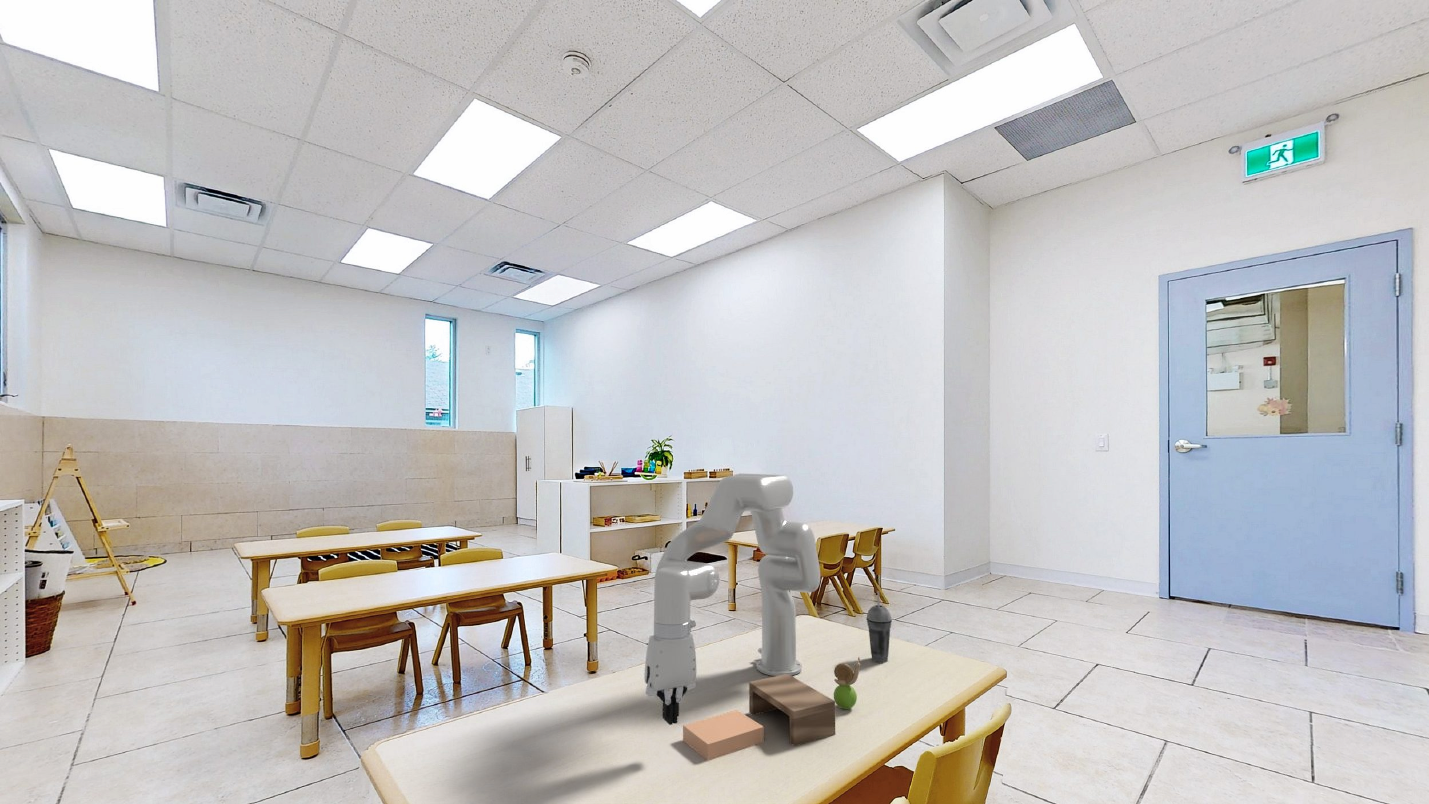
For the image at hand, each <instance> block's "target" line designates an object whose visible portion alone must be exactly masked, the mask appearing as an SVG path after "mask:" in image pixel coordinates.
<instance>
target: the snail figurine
mask: <svg viewBox="0 0 1429 804" xmlns="http://www.w3.org/2000/svg"><path fill="white" fill-rule="evenodd" d="M857 660H858V661H856V662H855V663H854V664H853V665H854V669H853V668H852V667H851V665H850V664H847V663H845V662H844V663H843V662H841V663H838V664H837V665H836V666H835V667H834V668H833V669H834V670H833V673H834V677H836V679H835V678H834V682H835V683H836V684H837V686H836V687H835V689H834V690H833V700H834V701H835V705H836V706H837V707H839V708H841V709H843V710H849V709H851V708H853V707H854V706H855V705H856V703H857V700H858V695H857V692H856V690H855V688H854V687H853V686H851V685H854V684H855V683H856V682H857V679H858V677H859V672H860V668H861V663H860V661H861V657H860V656H858V657H857ZM853 670H854V671H853Z"/></svg>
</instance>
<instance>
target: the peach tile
mask: <svg viewBox="0 0 1429 804" xmlns="http://www.w3.org/2000/svg"><path fill="white" fill-rule="evenodd" d="M764 730H765V729H764V726H763V725H762V724H760V723H758V722H756V721H755V720H754V719H752V718H751V717H749V716H747V715H745V714H744V713H742V712H741V711H739V710H738V709H735V710H732V711H729V712H728V711H727V712H724V713H721V714H718V715H713V716H711V717H707V718H704V719H700V720H696V721H694V722H690V723H687V724H686V723H685V724H683V725H682V740H683V741H684V743H686V744H687V745H688V746H689V747H691V748H692V749H693V750H694V751H696V752H697V753H698V754H699V755H701V756H702V757H703V758H704V759H706V760H707V761H711V760H712V759H716V758H719V757H723V756H725V755H728V754H732V753H735V752H737V751H741V750H743V749H747V748H749V747H752V746H755V745H758V744H762V743H764V739H765V738H764V736H765V735H764V733H765V732H764Z"/></svg>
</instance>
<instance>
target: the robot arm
mask: <svg viewBox="0 0 1429 804" xmlns="http://www.w3.org/2000/svg"><path fill="white" fill-rule="evenodd" d="M793 496H794V486H793V483H792V481H791V480H790V478H789V477H787V476H786V475H783V474H764V473H763V474H762V473H737V474H734V475H728V476H725V477H723V478H722V479H721V480H720V481H719V482H718V484H717V486H716V488H715V490H714V491H713V494H712V496H711V497H710V499H709V501H708V504H707V506H706V508H705V509H704V512H703V514H702V515H701V517H700V519H699V520H698V521H696V522H695V523H692V525H690V526H688V527H687V528H686V529H684V530H683V531H682V532H680V533H679V534H677V536H675V537H674V538H673V539H672V540H671V541H670V542H669V543H668V545H667V546H666V547H665V550H664V552H663V554H662V556H661V557H660V560H659V562H658V564H657V566H656V569H655V574H654V590H653V591H654V592H653V593H654V594H653V595H654V598H653V601H654V602H653V635H650V636H649V639H648V642H647V649H646V654H645V655H646V656H645V661H644V662H645V664H644V674H643V675H644V677H643V679H644V683H645V684H646V689H645V694H646V695H647V696H648V697H650V698H651V697H653V698H654V697H655V698H659V699H660V700H661V702H662V714H661V715H662V719H663V720H664V721H665V722H666V723H667V724H668V725H670V726H671V725H673V724H678V717H679V715H680V703H681V702H682V699H683V697H684V695H685V694H686V692H688V691H690V690H693V689H695V688H696V687H697V685H696V679H697V656H696V655H697V653H696V646H695V641H694V637H693V634H692V629H693V628H696V625H697V624H696V621H695V620H692V619H691V602H692V601H695V600H705V599H707V598H710V597H712V596H713V595H714V594H715V593H716V592H717V590H718V588H719V585H720V575H719V572H718V570H717V569H716V567H715V566H713V565H711V564H710V563H705V562H700V561H698V562H697V561H692V560H691V561H690V560H688V559H689V558H690V557H691V556H693V555H694V554H696V553H698V552H700V551H703V550H706V549H710V548H712V547H716V546H718V545H721V544H725V543H727V542H728V541H730V540H731V539H732V538H733V536H734V534H735V531H736V528H738V527H737V526H738V525H739V522H740V520H741V518H742V516H743V513H744V512H749V511H750V515H751V517H752V521H753V527H754V531H755V537H756V541H757V545H758V548H759V550H760V552H762V553H763V554H764V555H765V556H763V557H762V558H761V559H760V561H759V562H758V565H757V566H758V568H757V571H758V572H757V573H758V578H759V579H758V580H759V584H760V593H761V594H760V595H761V647H759V648H758V650H757V652H758V653H759V654H760V658H761V659H759V660H758V661H757V662H756V669H757V671H758V672H760V673H762V674H764V675H767V676H770V677H775V676H780V675H784V674H789V675H791V676H795V675H797V674H799V673H800V672H801V671H802V668H803V666H802V663H801V662H800V661H799V660H797V621H796V620H797V618H796V617H797V615H796V612H797V611H796V610H797V608H796V607H797V606H796V603H795V600H794V597H793V595H792V593H790V592H799V593H813V592H815V591H817V589H818V588H819V586H820V583H821V569H820V568H821V567H820V562H819V557H818V550H817V545H816V538H815V534H814V532H813V530H812V528H811V527H810V526H809V525H808V524H806V523H803V522H798V521H795V522H794V521H787V520H786V519H785V517H784V512H783V509H785V508H786V507H788V506H789V505H790V504H791V502H792V500H793ZM670 689H671V690H670Z"/></svg>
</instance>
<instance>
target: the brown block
mask: <svg viewBox="0 0 1429 804" xmlns="http://www.w3.org/2000/svg"><path fill="white" fill-rule="evenodd" d="M748 685H749V686H748V688H749V690H748V697H749V699H748V700H749V701H748V705H749V706H748V709H749V710H748V711H749V714H750V715H752V716H755V715H759V714H762V713H767V712H771V711H775V710H780V711H782V712H783V713H784V714H786V715H787V716H788V717H789V744H790V745H792V746H793V747H795V746H798V745H803V744H806V743H810V742H813V741H817V740H819V739H824V738H827V737H830V736H834V735H836V702H835V700H834V699H832V698H830V697H828V696H827V695H825V694H823V693H822V692H820V691H819V690H817V689H814V688H813V687H811V686H809V685H808V684H807V683H804V682H803V681H801V680H799V679H797V678H796V677H794V676H793V675H789V674H784V675H780V676H770V677H767V678H762V679H761V678H760V679H757V680H752V681H749V682H748Z"/></svg>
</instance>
